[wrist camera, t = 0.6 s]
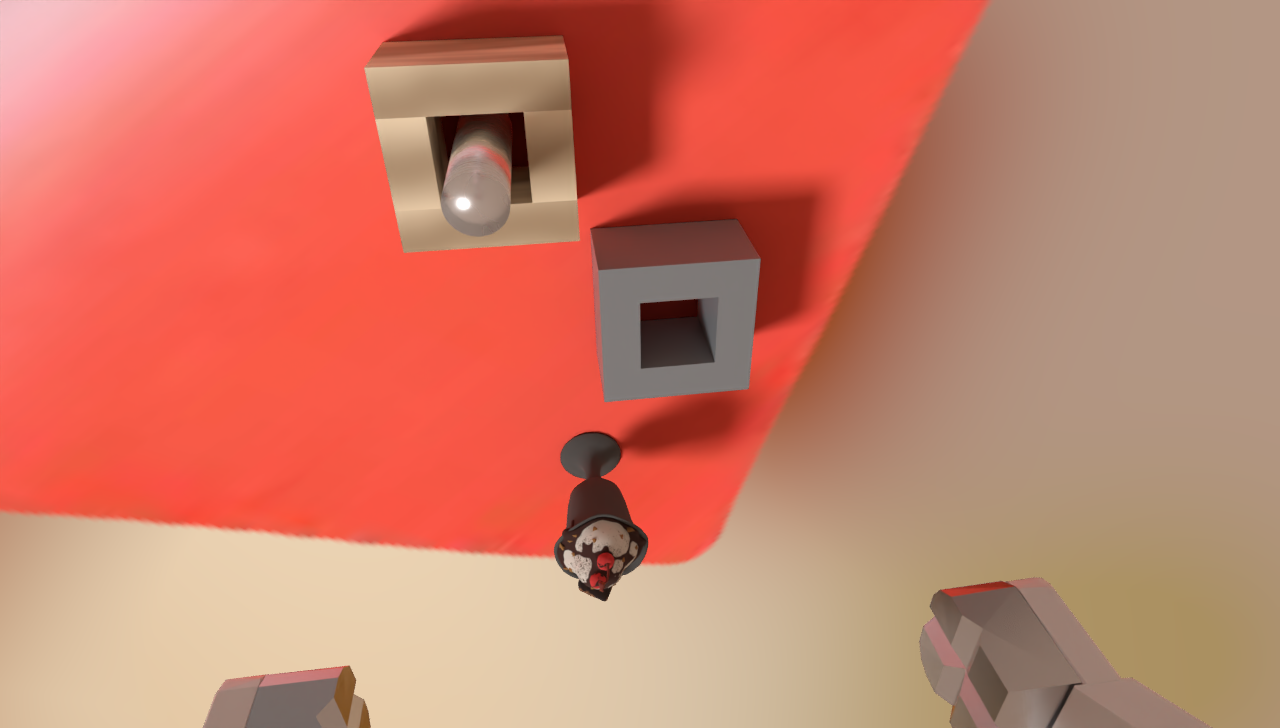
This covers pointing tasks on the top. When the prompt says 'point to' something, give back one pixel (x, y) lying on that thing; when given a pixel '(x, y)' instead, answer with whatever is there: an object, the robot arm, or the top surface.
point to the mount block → (466, 85)
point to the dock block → (668, 271)
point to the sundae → (597, 519)
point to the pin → (479, 175)
